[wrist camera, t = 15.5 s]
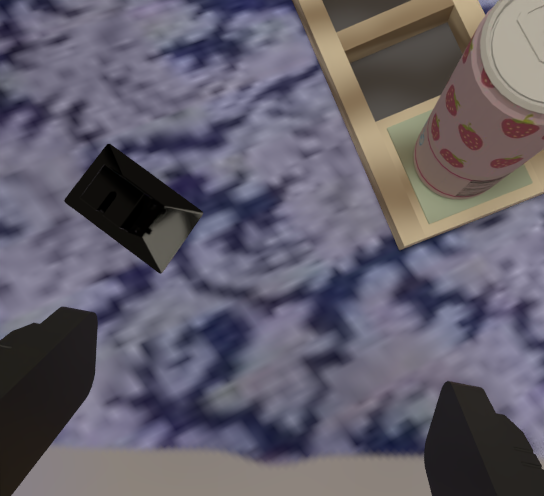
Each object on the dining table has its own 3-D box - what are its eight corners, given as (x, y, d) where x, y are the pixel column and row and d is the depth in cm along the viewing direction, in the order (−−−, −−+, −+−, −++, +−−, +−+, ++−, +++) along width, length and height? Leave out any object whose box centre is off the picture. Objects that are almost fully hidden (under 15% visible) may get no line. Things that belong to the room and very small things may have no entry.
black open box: (49, 199, 40) (13, 185, 35) (105, 124, 40) (76, 101, 36) (172, 294, 38) (151, 292, 34) (230, 214, 38) (217, 202, 34)
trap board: (285, -16, 39) (281, -40, 36) (421, -76, 38) (428, -104, 36) (399, 250, 36) (404, 246, 33) (550, 190, 35) (568, 181, 33)
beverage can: (450, 98, 34) (543, -61, 19) (521, 151, 33) (676, 27, 18) (394, 164, 34) (444, 55, 19) (464, 218, 33) (573, 148, 18)
